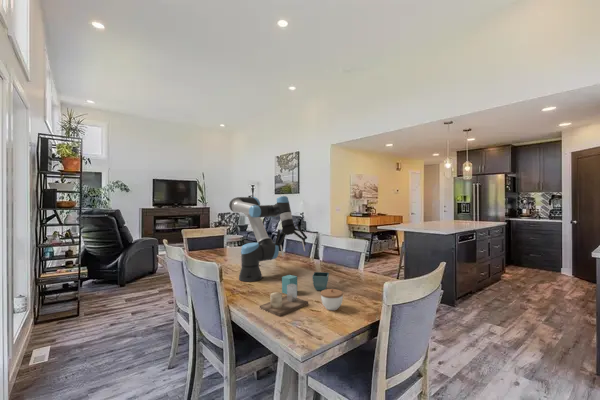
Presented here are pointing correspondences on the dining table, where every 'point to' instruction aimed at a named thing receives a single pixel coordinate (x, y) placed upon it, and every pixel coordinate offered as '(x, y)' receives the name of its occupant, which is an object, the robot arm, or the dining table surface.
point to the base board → (284, 306)
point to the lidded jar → (332, 298)
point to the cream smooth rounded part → (276, 300)
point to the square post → (291, 292)
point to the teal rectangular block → (288, 282)
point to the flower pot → (320, 280)
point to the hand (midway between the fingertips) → (293, 253)
